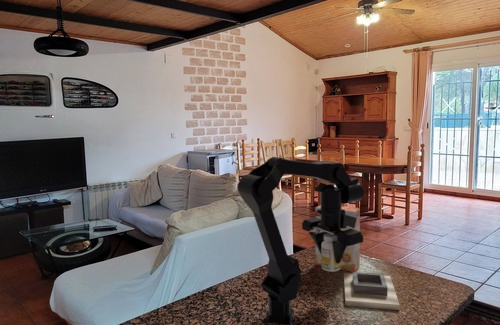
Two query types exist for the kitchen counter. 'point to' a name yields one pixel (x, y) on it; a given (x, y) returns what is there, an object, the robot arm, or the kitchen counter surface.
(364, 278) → the collar board
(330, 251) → the supplement bottle
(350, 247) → the cracker box
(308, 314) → the kitchen counter surface
